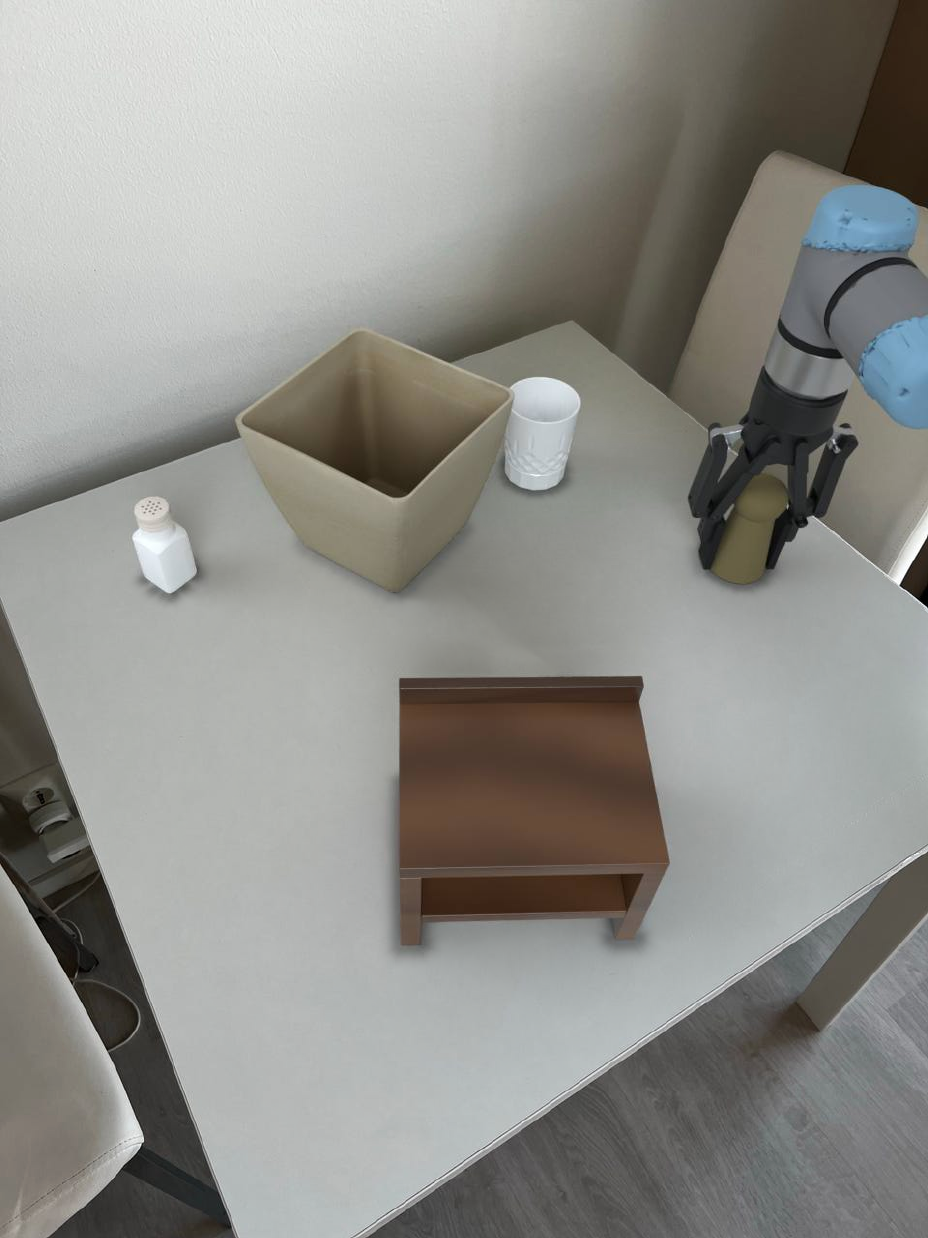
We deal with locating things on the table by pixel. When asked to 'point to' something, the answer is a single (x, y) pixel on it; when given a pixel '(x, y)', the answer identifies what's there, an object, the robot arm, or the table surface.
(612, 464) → the table surface
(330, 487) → the flower pot
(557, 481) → the white cup
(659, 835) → the miniature wooden nightstand
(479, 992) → the table surface
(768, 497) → the olive pawn
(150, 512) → the salt shaker
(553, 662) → the table surface
